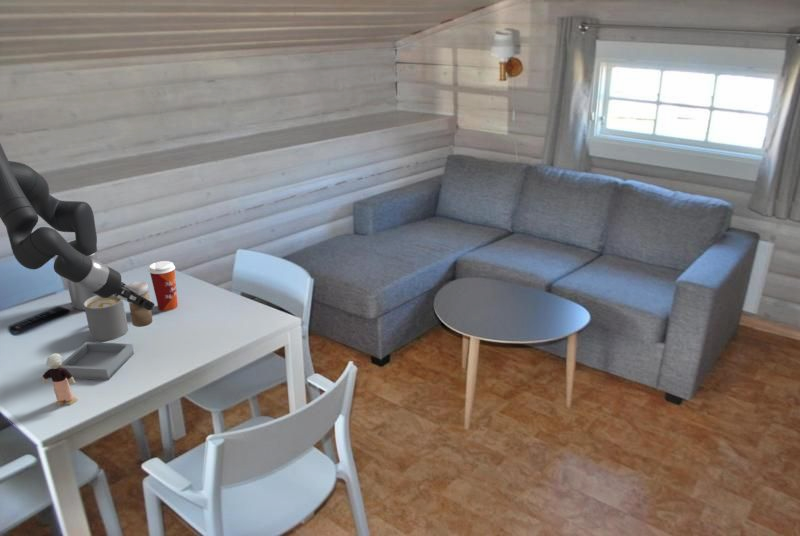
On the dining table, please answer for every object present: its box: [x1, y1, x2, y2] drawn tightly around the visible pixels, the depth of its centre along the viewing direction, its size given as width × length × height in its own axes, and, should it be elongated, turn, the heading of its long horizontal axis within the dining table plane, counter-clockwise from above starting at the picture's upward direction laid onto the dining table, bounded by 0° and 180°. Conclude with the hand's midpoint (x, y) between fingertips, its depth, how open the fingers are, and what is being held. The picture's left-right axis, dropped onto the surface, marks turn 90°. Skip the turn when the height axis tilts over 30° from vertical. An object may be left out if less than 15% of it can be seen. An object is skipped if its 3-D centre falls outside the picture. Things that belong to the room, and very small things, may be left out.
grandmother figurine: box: [41, 352, 79, 406], centre depth 148 cm, size 8×4×13 cm, turn 98°
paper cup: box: [148, 260, 178, 312], centre depth 196 cm, size 8×8×14 cm
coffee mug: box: [84, 295, 129, 342], centre depth 183 cm, size 13×10×10 cm
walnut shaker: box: [127, 281, 153, 328], centre depth 173 cm, size 5×5×11 cm
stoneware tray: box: [61, 341, 135, 381], centre depth 166 cm, size 13×13×3 cm
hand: (146, 303), depth 174 cm, fingers closed on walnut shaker, 5 cm apart
